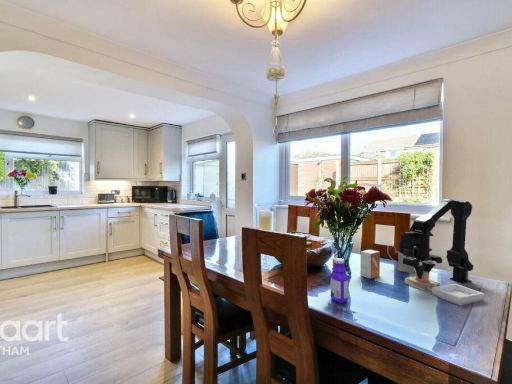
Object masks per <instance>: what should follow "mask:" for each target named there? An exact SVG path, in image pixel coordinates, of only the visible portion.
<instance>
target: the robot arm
mask: <svg viewBox="0 0 512 384" xmlns="http://www.w3.org/2000/svg"><path fill="white" fill-rule="evenodd" d="M472 210H473V205H472V203H471V202H469V201H468V200H467V201H464V200H454V199H445V198H444V199H442V200H441V201H440V203H438V205H436V206H435V207H433V209H431V210H430V211H429V212H428V213H427V214H425V215H421V216H418V217H417V218H415V219H414V220H413V223H412V225H411V226H410V228H409V229H408V231H407V232H405V231H404V233H403V234H402V235H401V237H400V242H401V244H402V245H403V246H404V247H413V250H409V249H403V255H404V256H406V258H404V259H403V264H406V265H409V266H412V267H414V269H415V274H416V273H417V276H418V278H419V279H421V277H422V274H423V270H424V271H427V272H429V274H430V273H431V271H432V270H433V268H434V267H435V266H436V264H443V258H442V257H441V256H440V255H435V254H430V253H431V252H432V251H433V248H431V247H430V246H431V245H430V244H431V241H430V240H431V237H433V236H434V234H433V233H432V232H431V231H433V229H434V228H435V226H436V223H437V222H438V220H440V219H441V218H442V217H443V216H444V215H445V214H447V213H448V212H449V211H450V214H451V216H452V218H453V230H452V243H451V244H452V245H451V248H450V249H447V250H446V257H445V259H446V260H447V262H448V266H449V267H452V277H450V278H449V280H452V281H454V282H455V281H456V282H459V283H461V284H464V283H466V284H467V283H471V282H472V279H471V280H470V279H469V272H471V271H473V270H474V265H473V263H472V262H471V261H470V260H469V253H468V251H467V250H466V247H465V246H466V235H467V234H466V232H467V219H468V218H469V217H470V216H471V214H472ZM411 257H412V258H411ZM434 262H436V264H435V263H434Z"/></svg>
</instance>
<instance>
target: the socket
mask: <svg viewBox="0 0 512 384" xmlns="http://www.w3.org/2000/svg"><path fill="white" fill-rule="evenodd" d="M404 283H405V284H406V285H409V286H412V287H414V288H417V289H418V290H420V291H424V292H427V291H428V292H429V291H432V287H437V286H442V284H441V282H438V281H436V280H432V279H430V278H429V282H428V283H423V282H420V281H417V280H416V275H415V276H410V277H404Z"/></svg>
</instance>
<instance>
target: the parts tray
mask: <svg viewBox="0 0 512 384" xmlns="http://www.w3.org/2000/svg"><path fill="white" fill-rule="evenodd" d="M431 295H433V296H435V297H438V298H441V299H443V300H445V301H448V302H449V303H453V304H456V305H457V306H463V305H469V304H473V303H478V302H479V303H480V302H484V301H485V293H484V292H481V291H478V290H476V289H472V288H469V287H466V286H464V285H460V284H458V283H451V284H445V285H441V286H437V287H432V290H431Z"/></svg>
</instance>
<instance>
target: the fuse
mask: <svg viewBox="0 0 512 384" xmlns="http://www.w3.org/2000/svg"><path fill="white" fill-rule="evenodd" d="M415 276H416V280H417V281H420V282H423V283H428V282H429V279H430V273H429V272H427V271H424V270H423V274H422V277H421V279H419V278H418V276H417V273H416V272H415Z"/></svg>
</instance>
